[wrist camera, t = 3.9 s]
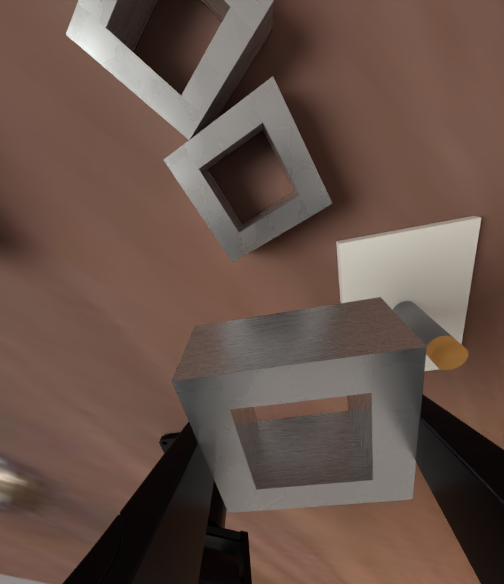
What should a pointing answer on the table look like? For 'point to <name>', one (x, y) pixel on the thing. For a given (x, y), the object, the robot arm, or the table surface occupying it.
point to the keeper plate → (417, 281)
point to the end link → (301, 387)
